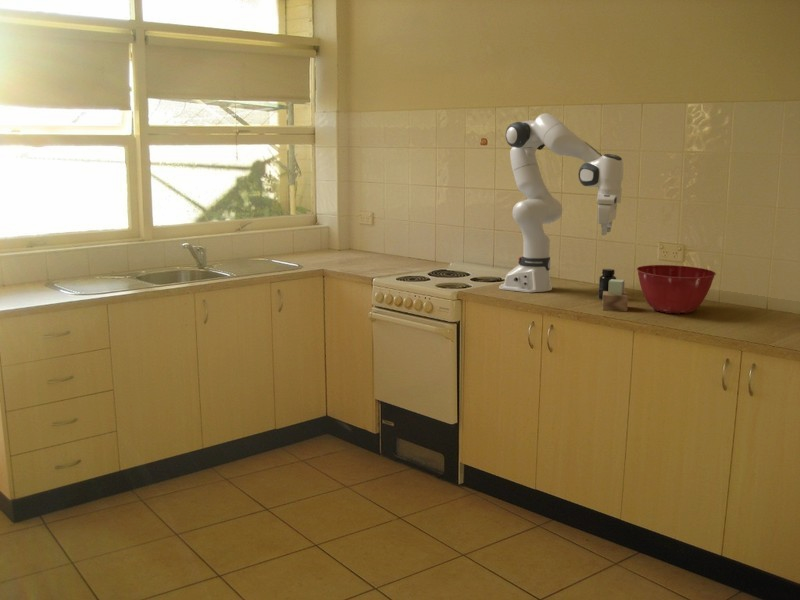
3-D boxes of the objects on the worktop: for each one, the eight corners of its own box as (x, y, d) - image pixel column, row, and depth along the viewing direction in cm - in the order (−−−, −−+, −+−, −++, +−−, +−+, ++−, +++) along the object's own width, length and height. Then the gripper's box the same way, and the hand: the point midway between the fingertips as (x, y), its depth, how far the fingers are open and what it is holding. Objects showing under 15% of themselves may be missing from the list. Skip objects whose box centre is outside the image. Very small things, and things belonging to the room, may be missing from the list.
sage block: (608, 294, 314) (608, 281, 313) (610, 291, 318) (611, 279, 317) (621, 295, 312) (622, 282, 311) (623, 292, 316) (624, 280, 315)
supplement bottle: (616, 300, 331) (617, 271, 329) (598, 299, 333) (600, 270, 330) (615, 297, 338) (616, 268, 336) (598, 296, 339) (599, 267, 337)
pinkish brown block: (602, 310, 313) (603, 295, 311) (602, 306, 321) (602, 291, 320) (627, 311, 311) (628, 296, 309) (626, 307, 319) (626, 291, 318)
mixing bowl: (712, 305, 321) (715, 266, 318) (713, 320, 294) (716, 278, 291) (637, 300, 330) (639, 262, 327) (631, 315, 304) (633, 273, 301)
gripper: (605, 194, 325) (602, 229, 328) (596, 199, 306) (593, 236, 309) (621, 195, 322) (618, 230, 325) (613, 200, 304) (610, 237, 307)
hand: (606, 233), depth 317 cm, fingers open, 8 cm apart
